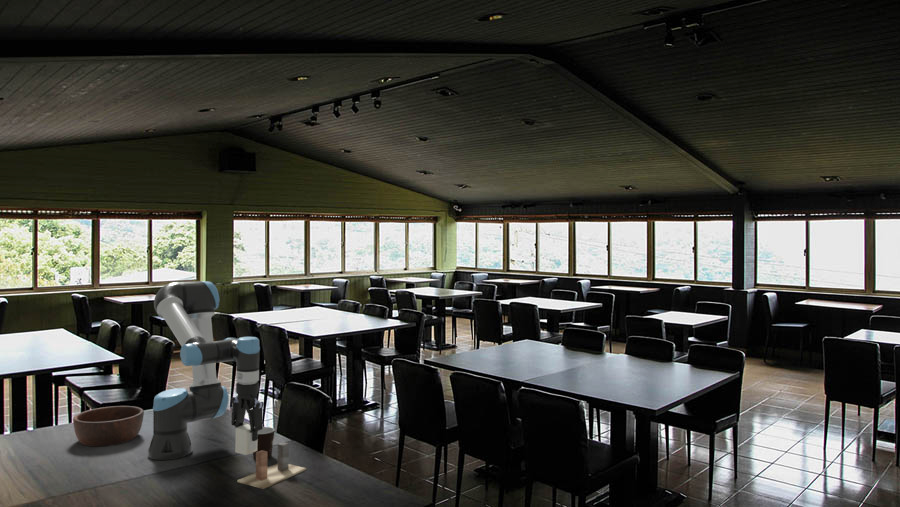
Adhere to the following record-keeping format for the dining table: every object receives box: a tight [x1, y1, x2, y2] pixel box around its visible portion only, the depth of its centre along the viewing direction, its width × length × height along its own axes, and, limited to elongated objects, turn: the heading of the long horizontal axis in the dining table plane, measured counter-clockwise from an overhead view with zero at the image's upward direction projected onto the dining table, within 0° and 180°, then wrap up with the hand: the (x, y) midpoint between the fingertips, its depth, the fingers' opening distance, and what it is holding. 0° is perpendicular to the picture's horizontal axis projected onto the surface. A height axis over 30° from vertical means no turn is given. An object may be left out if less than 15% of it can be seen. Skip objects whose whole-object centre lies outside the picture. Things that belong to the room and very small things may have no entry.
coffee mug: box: [252, 426, 276, 461], centre depth 234 cm, size 12×9×10 cm
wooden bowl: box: [72, 405, 145, 447], centre depth 253 cm, size 25×25×10 cm
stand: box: [236, 441, 307, 490], centre depth 215 cm, size 12×20×10 cm, turn 151°
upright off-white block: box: [234, 423, 258, 456], centre depth 220 cm, size 5×5×9 cm
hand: (246, 447), depth 220 cm, fingers closed on upright off-white block, 5 cm apart
